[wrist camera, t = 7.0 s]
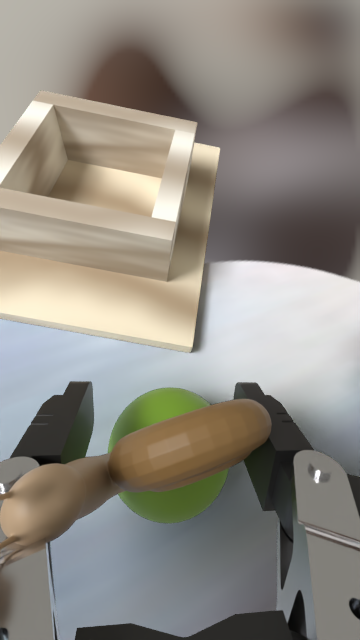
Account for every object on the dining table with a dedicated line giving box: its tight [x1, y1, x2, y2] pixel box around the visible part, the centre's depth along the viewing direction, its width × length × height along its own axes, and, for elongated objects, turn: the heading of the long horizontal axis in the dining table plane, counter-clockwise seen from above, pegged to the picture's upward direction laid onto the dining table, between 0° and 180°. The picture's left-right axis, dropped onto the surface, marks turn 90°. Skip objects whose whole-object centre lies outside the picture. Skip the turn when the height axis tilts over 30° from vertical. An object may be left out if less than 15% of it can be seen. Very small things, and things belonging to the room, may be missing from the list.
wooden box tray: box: [0, 91, 220, 353], centre depth 20 cm, size 20×16×5 cm
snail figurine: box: [0, 388, 272, 554], centre depth 10 cm, size 5×6×12 cm
